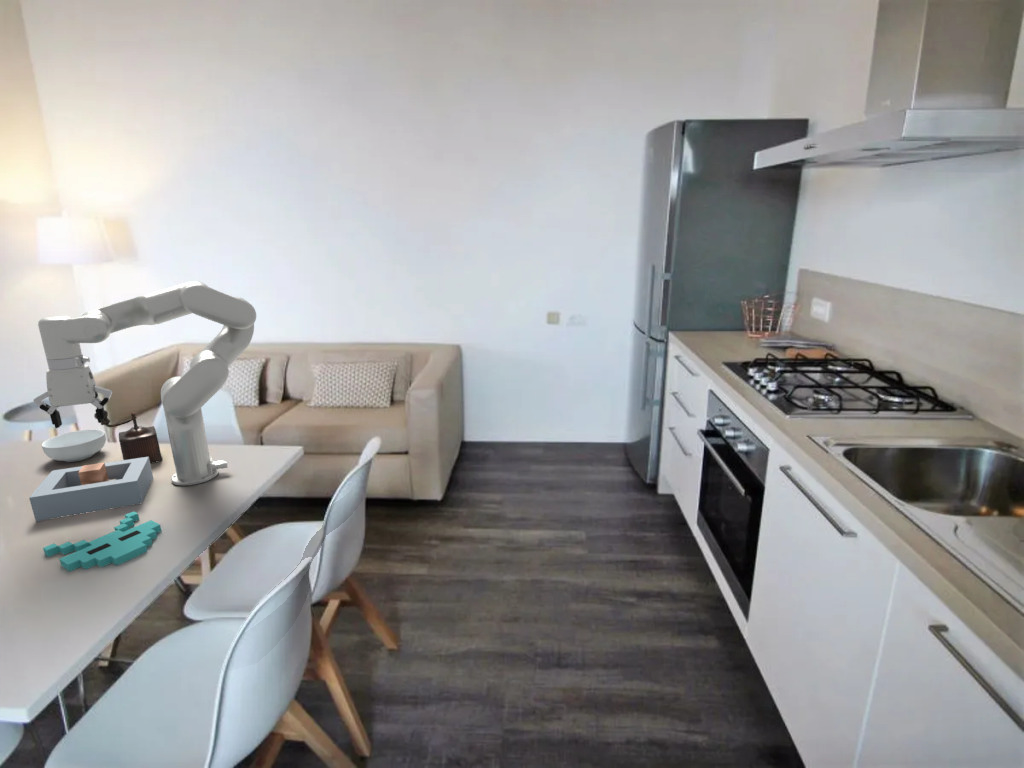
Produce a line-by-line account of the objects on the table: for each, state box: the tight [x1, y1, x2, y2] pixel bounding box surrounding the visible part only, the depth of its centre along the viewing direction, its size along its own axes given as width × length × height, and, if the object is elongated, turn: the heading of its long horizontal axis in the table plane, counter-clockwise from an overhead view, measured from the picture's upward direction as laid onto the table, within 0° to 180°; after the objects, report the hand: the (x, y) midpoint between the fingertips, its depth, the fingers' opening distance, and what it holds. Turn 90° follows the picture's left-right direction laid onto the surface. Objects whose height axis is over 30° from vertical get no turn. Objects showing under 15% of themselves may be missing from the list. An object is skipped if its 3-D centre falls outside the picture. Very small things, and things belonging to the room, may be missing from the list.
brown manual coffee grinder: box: [93, 409, 163, 464], centre depth 183 cm, size 16×11×18 cm
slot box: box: [28, 457, 154, 522], centre depth 160 cm, size 24×18×7 cm
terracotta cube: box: [78, 462, 109, 485], centre depth 159 cm, size 5×5×6 cm
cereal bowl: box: [41, 428, 107, 463], centre depth 188 cm, size 17×17×7 cm
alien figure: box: [42, 511, 162, 572], centre depth 137 cm, size 20×2×20 cm
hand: (80, 423), depth 154 cm, fingers open, 9 cm apart
